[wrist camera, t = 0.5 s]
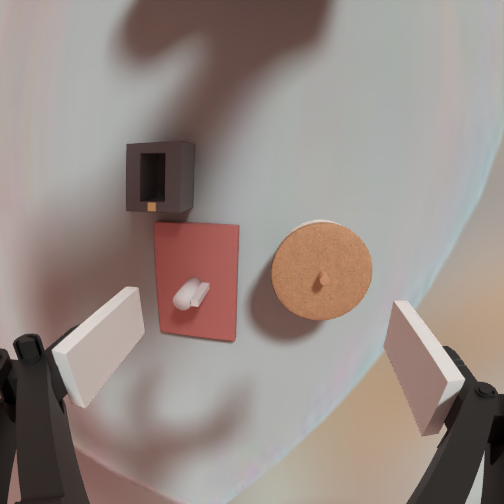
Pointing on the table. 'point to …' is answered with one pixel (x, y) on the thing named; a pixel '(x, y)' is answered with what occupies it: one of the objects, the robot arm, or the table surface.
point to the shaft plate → (203, 263)
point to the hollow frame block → (145, 177)
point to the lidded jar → (321, 270)
